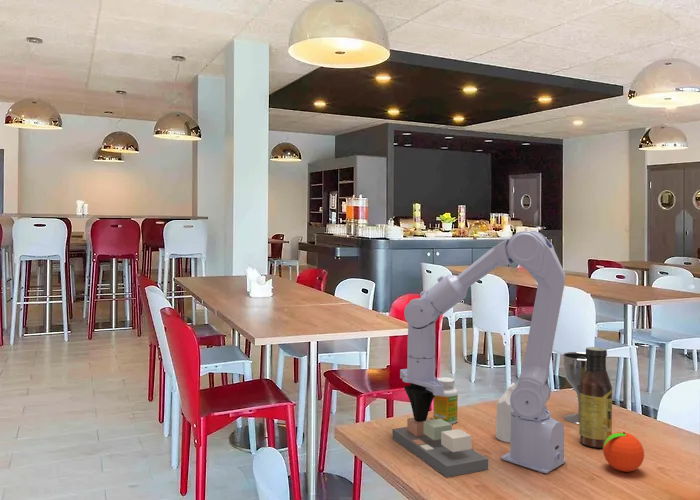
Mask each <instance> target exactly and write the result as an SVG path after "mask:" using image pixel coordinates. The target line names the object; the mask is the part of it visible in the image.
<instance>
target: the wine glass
mask: <svg viewBox="0 0 700 500" xmlns="http://www.w3.org/2000/svg"><path fill="white" fill-rule="evenodd" d="M562 357H563V358H562V359H563V361H562V363H563V371H564V377H565V378H566V380H567V382H568V383H569V384H570V386H571V387H572V388H573V389H574V391H575V393H576V395H577V403H578V404H577V405H578V406H577V407H578V411H577V413H569V414H565V415H564V416H563V419H564V420H565V421H567V422H570V423H573V424H577V425H579V415H580V381H581V378H582V376H583V375H584V373H585V372H586V370H587V368H586V365H587V356H586V352H581V351H580V352H579V351H578V352H576V351H575V352H574V351H570V352H565V353H563V356H562Z"/></svg>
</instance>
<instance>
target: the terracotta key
mask: <svg viewBox="0 0 700 500" xmlns="http://www.w3.org/2000/svg"><path fill="white" fill-rule="evenodd" d="M406 420H407V423H406V425H407V426H406V427H407V430H408V431H409V432H411V433H412V434H414V435H415V436H417V437H418V436H424V435H425V434H423V428H424V421H421V422H417V421H415V420H414V417H409V418H406ZM428 420H431V419H429V418H428V417H427V419H426V421H428Z"/></svg>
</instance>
